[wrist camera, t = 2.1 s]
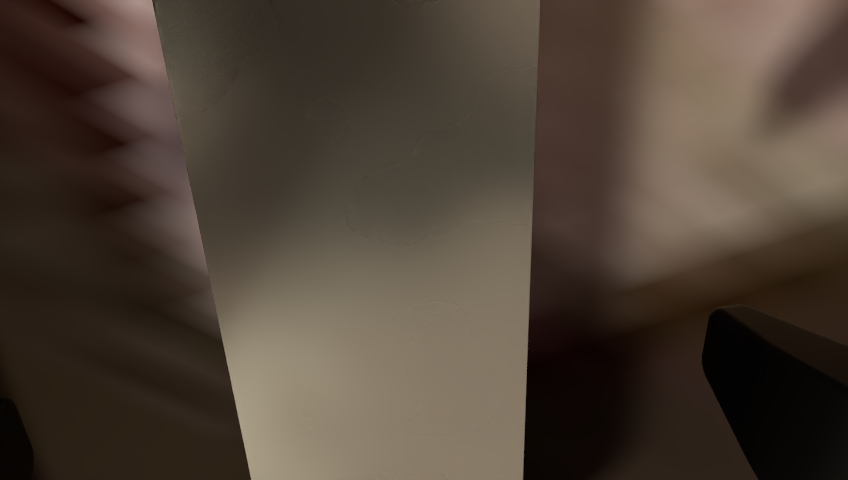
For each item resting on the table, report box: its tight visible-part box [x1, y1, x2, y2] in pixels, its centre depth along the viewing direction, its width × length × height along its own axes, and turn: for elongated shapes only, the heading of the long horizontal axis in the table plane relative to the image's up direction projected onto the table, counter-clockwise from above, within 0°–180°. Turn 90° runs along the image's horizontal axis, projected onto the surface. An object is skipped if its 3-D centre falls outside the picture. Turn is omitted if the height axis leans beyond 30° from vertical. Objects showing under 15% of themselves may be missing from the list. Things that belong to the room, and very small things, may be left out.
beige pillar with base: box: [152, 0, 540, 480], centre depth 10 cm, size 4×16×4 cm, turn 2°
